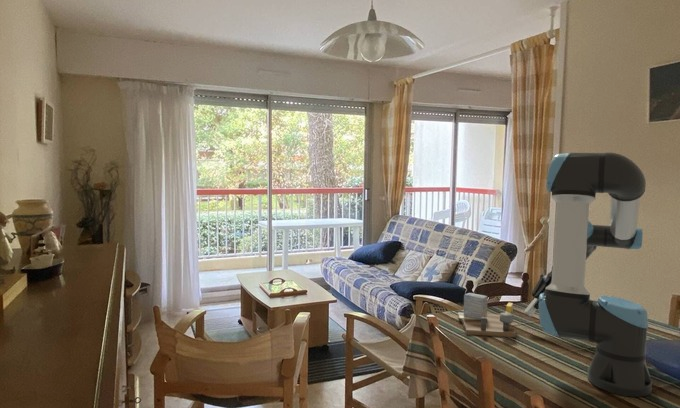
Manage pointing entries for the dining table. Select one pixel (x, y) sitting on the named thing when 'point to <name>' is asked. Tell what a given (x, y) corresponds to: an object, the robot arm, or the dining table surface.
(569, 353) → the dining table surface
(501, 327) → the lock plate
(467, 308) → the medicine box
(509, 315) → the latch arm
